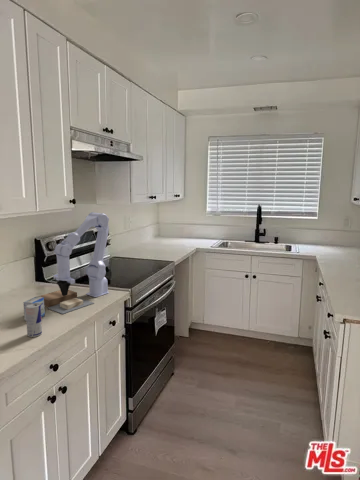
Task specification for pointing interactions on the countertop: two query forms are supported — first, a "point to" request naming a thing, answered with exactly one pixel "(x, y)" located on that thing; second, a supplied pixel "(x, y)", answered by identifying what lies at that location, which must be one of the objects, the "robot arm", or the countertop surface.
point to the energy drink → (33, 320)
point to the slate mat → (63, 310)
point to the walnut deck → (57, 297)
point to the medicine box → (35, 300)
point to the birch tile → (71, 303)
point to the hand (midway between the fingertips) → (64, 295)
